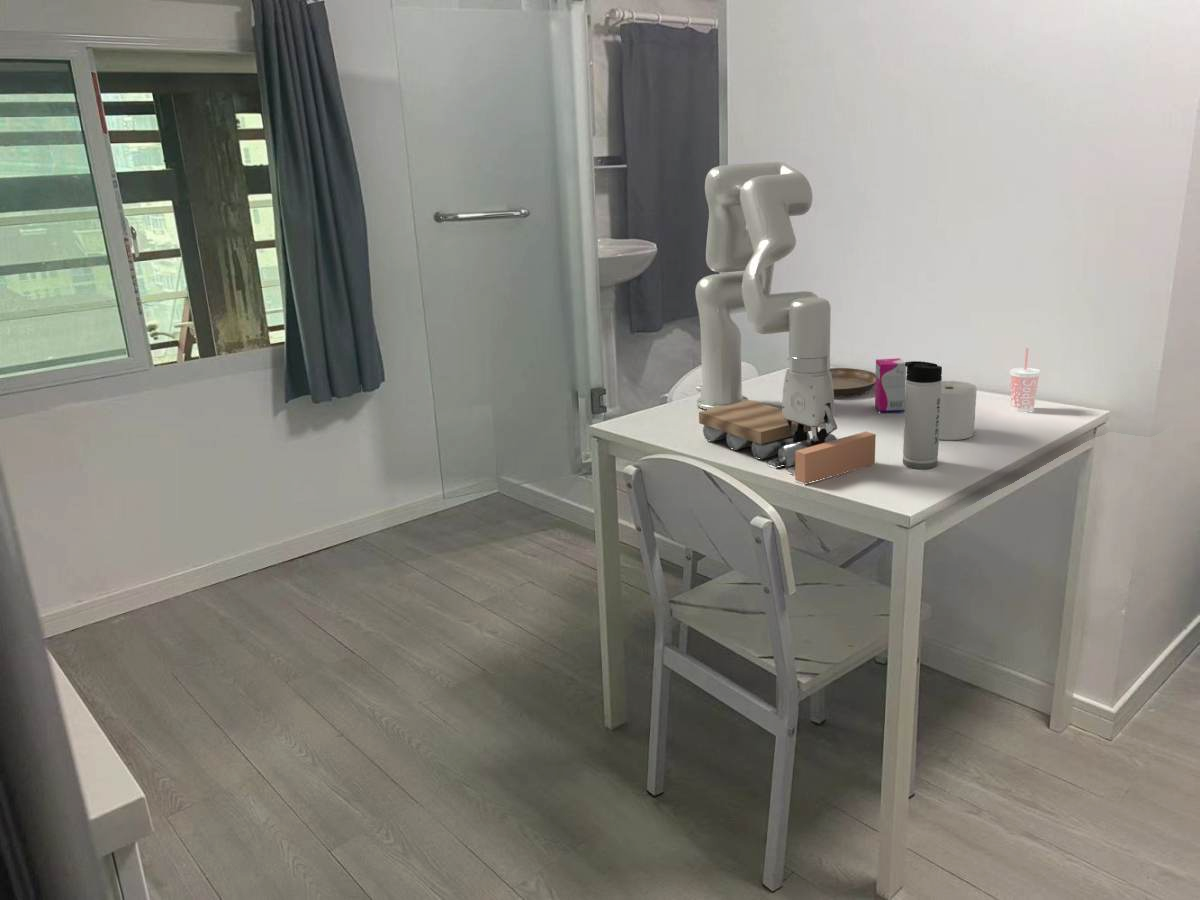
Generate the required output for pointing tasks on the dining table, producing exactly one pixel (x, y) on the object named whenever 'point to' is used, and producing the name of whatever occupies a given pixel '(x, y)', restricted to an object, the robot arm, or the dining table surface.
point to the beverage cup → (1024, 387)
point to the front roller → (771, 447)
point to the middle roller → (737, 442)
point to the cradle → (777, 463)
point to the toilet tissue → (957, 410)
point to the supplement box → (890, 385)
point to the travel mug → (922, 414)
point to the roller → (788, 451)
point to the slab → (749, 421)
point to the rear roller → (713, 433)
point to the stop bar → (835, 457)
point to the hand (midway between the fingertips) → (808, 454)
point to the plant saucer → (851, 381)
